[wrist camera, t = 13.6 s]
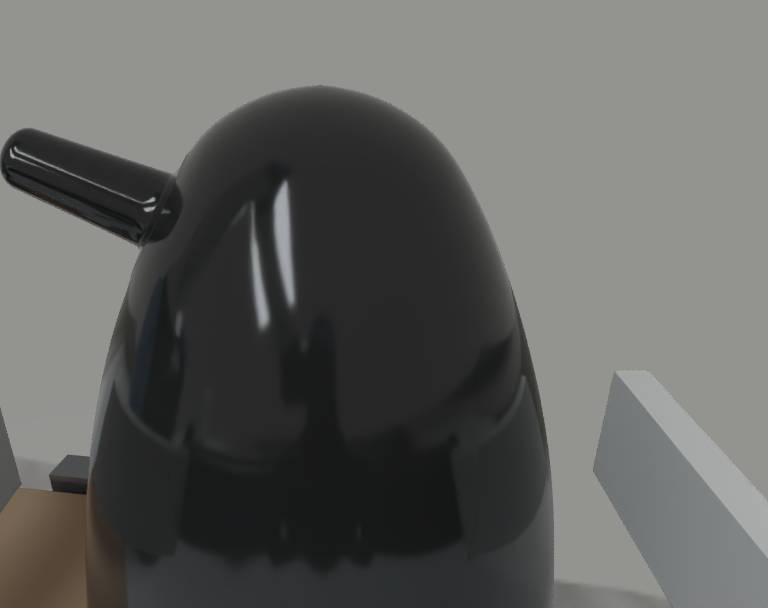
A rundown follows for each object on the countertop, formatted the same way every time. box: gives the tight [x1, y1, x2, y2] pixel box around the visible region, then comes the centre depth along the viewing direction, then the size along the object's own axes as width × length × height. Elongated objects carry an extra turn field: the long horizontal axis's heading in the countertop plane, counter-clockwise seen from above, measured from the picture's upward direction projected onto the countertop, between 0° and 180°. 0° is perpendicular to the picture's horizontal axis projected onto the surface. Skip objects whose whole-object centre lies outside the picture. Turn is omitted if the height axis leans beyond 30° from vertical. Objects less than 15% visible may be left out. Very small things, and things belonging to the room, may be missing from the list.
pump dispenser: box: [0, 85, 554, 608], centre depth 13 cm, size 10×10×15 cm
